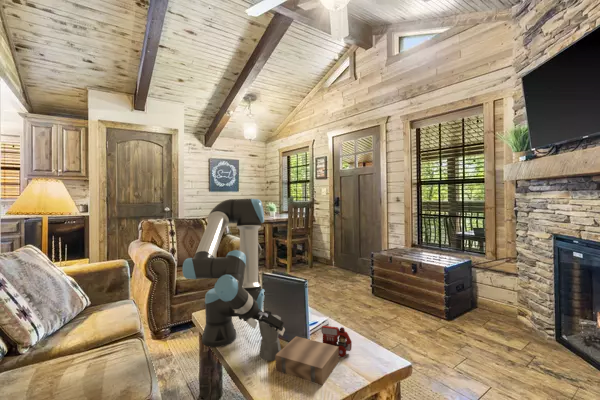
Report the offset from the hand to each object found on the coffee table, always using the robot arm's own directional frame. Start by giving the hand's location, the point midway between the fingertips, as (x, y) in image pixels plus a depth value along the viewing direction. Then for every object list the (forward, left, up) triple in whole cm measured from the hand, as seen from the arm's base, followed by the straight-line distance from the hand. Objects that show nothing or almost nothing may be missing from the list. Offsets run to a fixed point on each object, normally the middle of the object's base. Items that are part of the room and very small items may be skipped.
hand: (268, 328), depth 121 cm
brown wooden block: (+17, 0, -11) cm, 21 cm away
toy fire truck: (+24, +15, -11) cm, 30 cm away
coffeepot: (-1, +1, -11) cm, 11 cm away
